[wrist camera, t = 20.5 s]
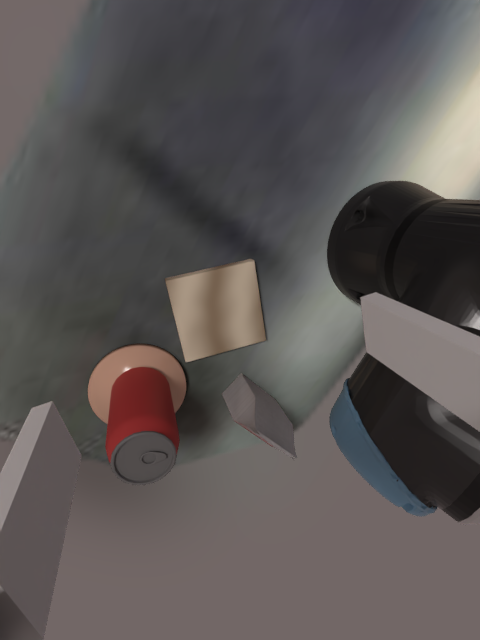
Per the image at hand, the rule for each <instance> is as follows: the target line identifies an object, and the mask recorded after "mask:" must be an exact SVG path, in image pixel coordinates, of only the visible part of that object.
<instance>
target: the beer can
mask: <svg viewBox="0 0 480 640" xmlns="http://www.w3.org/2000/svg"><path fill="white" fill-rule="evenodd" d="M178 446H179V433H178V427H177V422H176V417H175V412H174V406H173V401H172V396H171V391H170V385H169V382H168V381H167V379H166V377H165V376H164V375H163V374H162V373H160V372H159V371H157V370H155V369H152V368H149V367H137V368H132V369H130V370H128V371H126V372H124V373H122V374H121V375H120V376H119V377H118V378H117V379H116V380H115V382H114V384H113V386H112V390H111V396H110V406H109V416H108V427H107V437H106V451H107V456H108V459H109V462H110V464H111V469H112V472H113V473H114V474H115V476H116V477H117V478H118V479H120V480H121V481H123V482H125V483H128V484H132V485H146V484H150V483H154V482H156V481H158V480H160V479H162V478H163V477H164V476H166V475H167V474H168V473H169V472H170V471H171V469H172V468H173V466H174V464H175V461H176V457H177V450H178Z"/></svg>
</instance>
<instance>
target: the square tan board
mask: <svg viewBox="0 0 480 640" xmlns="http://www.w3.org/2000/svg"><path fill="white" fill-rule="evenodd" d="M165 281H166V285H167V289H168V294H169V298H170V302H171V306H172V310H173V314H174V318H175V322H176V326H177V330H178V334H179V338H180V342H181V346H182V350H183V354H184V358H185V361H186V362H189V361H193V360H197V359H200V358H204V357H208V356H211V355H215V354H218V353H222V352H226V351H229V350H233V349H237V348H240V347H244V346H247V345H251V344H255V343H258V342H262V341H265V340H266V337H265V330H264V323H263V316H262V310H261V303H260V296H259V289H258V282H257V276H256V269H255V262H254V260H252V259H248V260H244V261H239V262H235V263H230V264H226V265H222V266H217V267H213V268H208V269H204V270H200V271H195V272H191V273H186V274H182V275H178V276H173V277H169V278H165Z"/></svg>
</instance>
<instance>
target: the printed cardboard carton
mask: <svg viewBox="0 0 480 640" xmlns="http://www.w3.org/2000/svg"><path fill="white" fill-rule="evenodd" d="M222 395H223V398H224V400H225V402H226V405H227V407H228V409H229V411H230V414H231V416H232V418H233V420H234V421H235V422H236V423H238V424H239V425H241V426H242V427H244V428H245V429H247V430H248V431H250V432H251V433H253V434H254V435H256V436H257V437H258V438H260V439H261V440H263V441H264V442H266V443H267V444H269V445H270V446H272V447H274V448H276V449H278V450H280V451H282V452H283V453H285V454H286V455H288V456H289V457H291V458H292V459H293V457H297V456H296V453H295V447H294V434H293V425H292V423H291V422H290V420H289V419H288V417H287V416H286V414H285V413H284V411H283V410H282V408H281V407H280V405H279V404H278V402H277V401H276V399H274V398H273V397H272V396H270V395H269V394H268V393H267V392H265V391H264V390H263V389H261V388H260V387H259V386H257V385H256V384H255V383H254V382H252V381H251V380H250V379H248V378H247V377H246V376H244V375H243V374H242V373H241V374H240V375H239V376H238V377H237V378H236V379H235V380H234V381H233V382H232V383H231V384H230V386H229V387H228V388H227V389H226V390H225V391H224V392H223V393H222ZM292 456H293V457H292Z"/></svg>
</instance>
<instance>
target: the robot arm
mask: <svg viewBox="0 0 480 640" xmlns="http://www.w3.org/2000/svg"><path fill="white" fill-rule="evenodd" d="M327 259H328V266H329V270H330V274H331V276H332V279H333V281H334V283H335V284H336V286H337V287H338V288H339V290H340V291H341V292H342V293H343V294H345V295H346V296H347V297H349V298H351V299H353V300H355V301H357V302H359V303H361V308H362V317H363V326H364V335H365V344H366V354H365V355H364V357H363V358H362V360H361V362H360V363H359V365H358V366H357V368H356V369H355V371H354V373H353V374H352V376H351V377H350V378H348V379H346V381H345V382H344V386H343V390H342V392H341V394H340V395H339V397H338V399H337V401H336V403H335V404H334V406H333V408H332V410H331V413H330V428H331V431H332V434H333V437H334V438H335V440H336V442H337V445H338V446H339V448H340V450H341V451H342V453H343V454H344V456H345V457H346V458H347V460H348V461H349V462H350V464H351V465H352V466H353V467H354V468H355V469H356V471H357V472H358V473H359V474H360V475H361V476H362V477H363V478H364V479H365V480H366V481H367V482H368V483H369V484H370V485H371V486H372V487H373V488H374V489H375V490H376V491H378V492H379V493H380V494H381V495H382V496H383V497H385V498H386V499H387V500H389V501H390V502H392V503H393V504H394V505H396V506H398V507H400V506H402V507H403V509H405V510H406V512H408V513H410V514H413V515H416V516H426V515H428V514H430V513H434V512H435V510H436V509H437V507H439V508H440V509H442V510H443V511H444V512H446V513H447V514H448V515H449V516H451V517H452V518H453V519H455V520H456V521H458V522H459V523H461V524H463V525H470V524H480V200H462V199H445V198H443V197H441V196H439V195H437V194H435V193H434V192H432V191H430V190H428V189H426V188H424V187H423V186H421V185H418V184H416V183H412V182H407V181H384V182H379V183H376V184H373V185H370V186H368V187H366V188H364V189H363V190H361V191H360V192H358V193H357V194H356V195H354V196H353V197H352V198H351V199H350V200H349V201H348V202H347V203H346V205H345V206H344V207H343V208H342V210H341V211H340V213H339V215H338V216H337V218H336V220H335V222H334V224H333V227H332V230H331V233H330V237H329V241H328V249H327ZM80 461H81V454H80V452H79V450H78V448H77V446H76V444H75V442H74V441H73V439H72V437H71V435H70V433H69V431H68V429H67V427H66V426H65V424H64V422H63V420H62V418H61V416H60V414H59V412H58V410H57V409H56V407H55V405H54V403H53V401H51V402H48V403H45V404H42V405H39V406H36V407H33V408H32V409H31V411H30V413H29V415H28V417H27V419H26V421H25V423H24V425H23V427H22V429H21V431H20V433H19V436H18V438H17V440H16V442H15V444H14V446H13V448H12V450H11V452H10V454H9V456H8V458H7V460H6V463H5V465H4V467H3V469H2V471H1V473H0V640H43V639H44V633H45V629H46V625H47V619H48V615H49V610H50V605H51V600H52V595H53V591H54V586H55V581H56V576H57V572H58V566H59V562H60V557H61V552H62V547H63V543H64V538H65V533H66V528H67V523H68V519H69V513H70V509H71V504H72V499H73V495H74V490H75V485H76V480H77V475H78V470H79V466H80Z"/></svg>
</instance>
